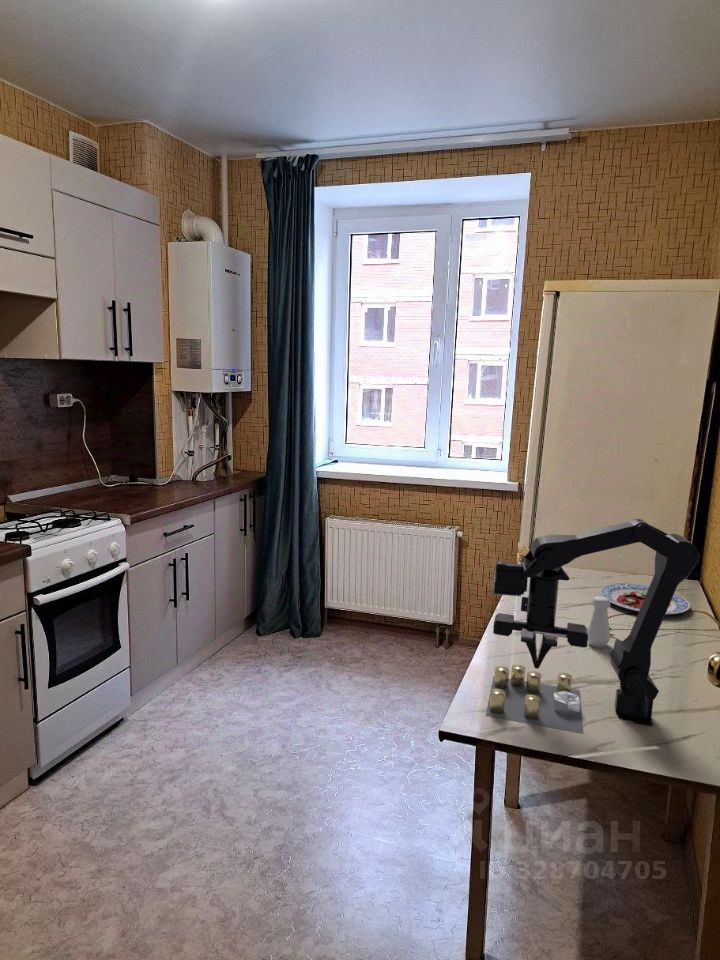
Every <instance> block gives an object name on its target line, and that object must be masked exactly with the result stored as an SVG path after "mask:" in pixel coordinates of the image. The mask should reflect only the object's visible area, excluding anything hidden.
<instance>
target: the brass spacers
mask: <svg viewBox="0 0 720 960" xmlns="http://www.w3.org/2000/svg"><path fill="white" fill-rule="evenodd" d="M509 673H510V668H509V667H507V666H506V665H505V666H504V665H497V666H495V670H494V676H495V681H494V686H495V687H497V688H500V689H492V690H491V689H490V691H491V695H490V694H489V696H490V711H491V712H492V713H495V714H502V713H504V707H505V692H504V691H503V690H501V689H506V688H507V687H508V678H509V675H510V679H511V685H512V686H515V687H523V686H524V681H527V685H526V691H527V692H528V693H530V694H539V693H540V687H541V684H542V673H540V672H539V671H537V670H530V671H528V672H527V675H526V666H524V665H522V664H513V665H512V666H511V673H510V674H509ZM525 678H526V679H525ZM572 683H573V676H572V674H570V673H566V672H559V673H558V674H557V683H556V686H557V692H562V691H567V692H569V693H571V689H572ZM539 711H540V698H539V697H538V696H536V695H526V697H525V708H524V717H525V718H527V719H529V720H538V719H539Z"/></svg>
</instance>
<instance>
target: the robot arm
mask: <svg viewBox="0 0 720 960" xmlns="http://www.w3.org/2000/svg"><path fill="white" fill-rule="evenodd" d="M531 543H532V544H531V546H530V550H529V551H528V552H527V553H526V554H525V555H524V556H523V557H522V558H521V560H520V561H519V562H520V563H514V562H513V563H511V562H504V561H498V560H497V561H495V566H494V572H493V573H492V594H493V595H497V596H498V595H501V596H511V597H521V605H520V611H521V612H525V613H526V618H525V619H526V621H519V620H518V621H517V620H515V615H514V614H510V613H509V614H506V613H502V612H498V613H497V614H496V615H495V618H494V619H493V620H494V622H493V627H492V629H493V630H492V631H493V632H492V633H493V634H495V635H497V636H504V637H509V636H511V635H512V634H513V631H517V632H518V631H519V632H520V642H521V643H525V645H526V648H527V650H528V651H529V654H530V656H531V661H532V664H533V667H534V669H537V670H538V669H540V666H541V665H542V663H543V661H544V659H545V658H546V656H547V654H548V653H549V651H551V649H552V648H553V647H555V648H556V647H558V639H559V637H560V638H565V639H567V640H566V641H567V643H568V644H569V645H570V646H572V647H577V648H584V649H585V648H587V647H588V644H589V642H588V632H587V630H588V628H587V626H586V625H585V624H580V623H573V622H566V624H567V625H566V627H559V626H556V614H557V605H558V603H557V601H558V592H559V583H560V581H570V577H569V574H568V572H566V571H565V570H564V568H563V567H564V566H566V565H568V564H570V563H571V562H572V561H574V560H575V559H577V558H578V559H579V558H580V557H582V556H585V555H590V554H594V553H599V552H603V551H607V550H611V549H615V548H621V547H624V546H629V545H633V544H637V543H641V544H643V545H645V546H646V547H648V548H650V549H652V550H653V551H655V556H654V575H653V577H652V579H651V583H650V585H649V586H650V587H649V589H648V591H647V594H646V596H645V599H644V601H643V603H642V606H641V608H640V611H639V612H638V613H637V616H636V618H635V621H634V623H633V625H632V628H631V630H630V632H629V634H628V636H627V637H625V638H624V639H622V640H620V639H618V638H615V639H614V644H613V648H612V650H611V651H610V652H609V653H608V655H609V657H610V665H611V666H612V669H613V670H614V672H615V674H616V676H617V677H618V678H617V679H618V680H619V688H617V689H615V697H614V698H615V699H614V711H615V713H616V714H617V716H618V717H617V718H618V719H619V720H623V721H627V722H632V723H634V724H637V725H638V724H640V725H645V726H653V719H652V715H653V707H654V700H655V699H656V698H657V696H658V694H659V688H658V687H657V686H656V684H655V683H654V681H653V679H652V678H651V677H650V675H649V673H650V670H651V667H652V666H651V664H652V659H651V657H652V647H653V644H654V642H655V639H656V637H657V635H658V632H659V630H660V628H661V626H662V623H663V620H664V618H665V616H666V615H667V614H666V612H667V609H668V607H669V605H670V602H671V600H672V598H673V595H674V593H675V592H676V590H677V589H678V586H679V585H680V584H681V583H682V582H683V581H684V580H685V579H687V578H688V577H689V576H690V574H691V573H692V572H693V570H694V568H695V567H696V565H697V564H698V562H699V559H700V552H699V550H698V547H697V546H695V545H694V544H693V543H692V542H691V541H689V540H688V539H686V537H684V536H682V535H681V534H679V533H678V534H677V533H669V534H668V533H667V532H664V531H663V530H661V529H659V528H657V527H655V526H653V525H651V524H650V523H648V522H646V521H645V520H644V519H641V518H634V519H631V520H630V521H626V522H622V523H618V524H617V523H616V524H615V525H609V526H605V527H602V528H597V529H593V530H589V531H584V532H582V533H577V534H550V535H549V534H547V535H540V536H539V537H536V538H534V540H533V542H531ZM528 578H529V580H528ZM528 581H529V585H528ZM528 586H529V587H528ZM527 590H528V595H527V596H522V595H525V592H527ZM675 594H676V593H675ZM537 634H540V635H541V640H540V641H541V642H540V645H539V650H537ZM537 651H538V653H537Z"/></svg>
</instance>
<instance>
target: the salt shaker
mask: <svg viewBox="0 0 720 960" xmlns="http://www.w3.org/2000/svg"><path fill="white" fill-rule="evenodd" d="M592 606H594V609H593V612H592V616H591V618H590V622H589V623H588V628H587V632H588V644H589V645H590V646H592V647H594V648H600V649H603V648H605V647H606V646H607V645H608V643H609V642H610V639H611V633H610V623H609V615H608V614H609V612H608V611H609V610H608V609H609V608H610V607H611V602H610V600H609V599H608V598H606V597H602V595H599V596H598V595H597V596H594V597H593V598H592Z"/></svg>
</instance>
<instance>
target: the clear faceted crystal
mask: <svg viewBox="0 0 720 960" xmlns="http://www.w3.org/2000/svg"><path fill="white" fill-rule="evenodd" d="M553 707H554V710H555V711H558V712H560V713H562V714H565V715H573V714H579V708H580V701H579V697H578V696H577V695H574V694H572V693H569V692H567V691H562V692H556V693H554V696H553Z"/></svg>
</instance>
